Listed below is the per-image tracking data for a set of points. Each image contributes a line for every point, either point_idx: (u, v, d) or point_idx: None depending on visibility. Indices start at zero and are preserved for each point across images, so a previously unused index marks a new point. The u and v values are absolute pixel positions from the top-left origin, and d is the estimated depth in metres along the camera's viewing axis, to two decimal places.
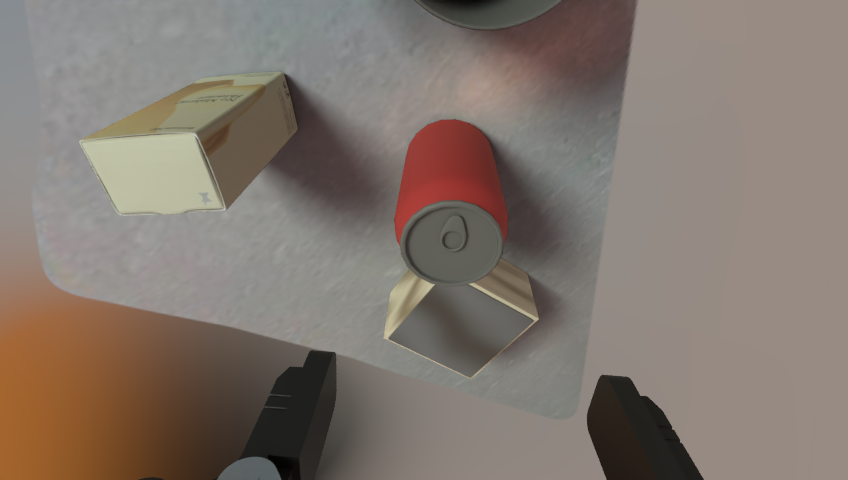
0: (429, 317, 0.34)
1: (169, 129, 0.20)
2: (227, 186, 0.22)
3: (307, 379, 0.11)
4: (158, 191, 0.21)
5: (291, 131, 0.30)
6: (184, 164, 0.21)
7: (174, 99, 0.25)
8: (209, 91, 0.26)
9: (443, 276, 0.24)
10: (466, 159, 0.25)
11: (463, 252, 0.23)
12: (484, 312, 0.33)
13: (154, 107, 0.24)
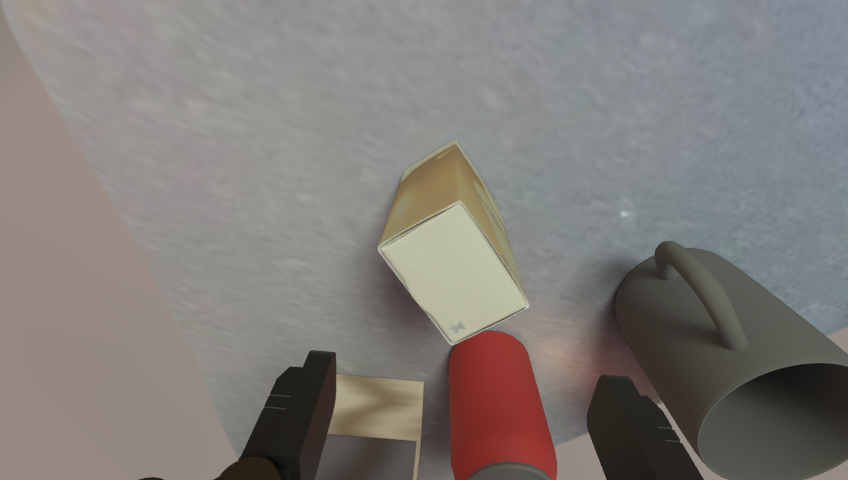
0: (357, 451, 0.32)
1: (513, 274, 0.19)
2: None
3: (307, 379, 0.11)
4: (440, 285, 0.19)
5: None
6: (489, 304, 0.19)
7: (470, 179, 0.23)
8: (484, 195, 0.25)
9: None
10: None
11: None
12: None
13: (467, 181, 0.22)
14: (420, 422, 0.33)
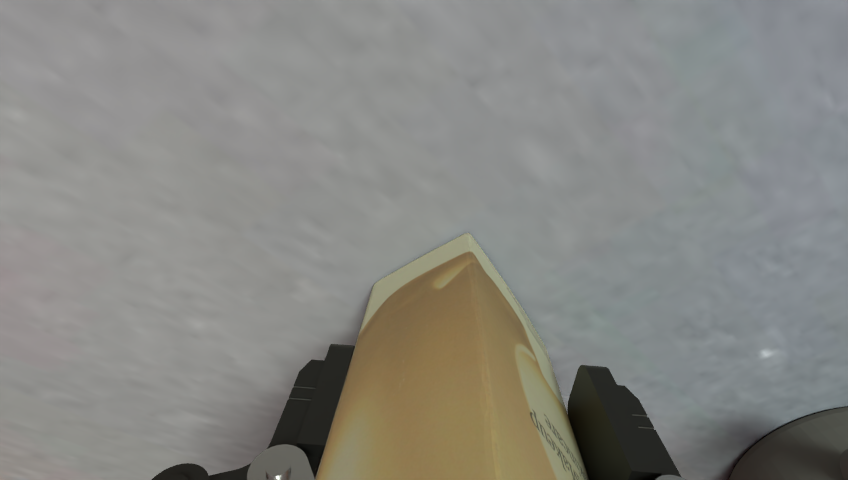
0: None
1: None
2: None
3: (330, 371, 0.12)
4: None
5: None
6: None
7: (511, 369, 0.10)
8: (534, 378, 0.12)
9: None
10: None
11: None
12: None
13: (510, 403, 0.09)
14: None
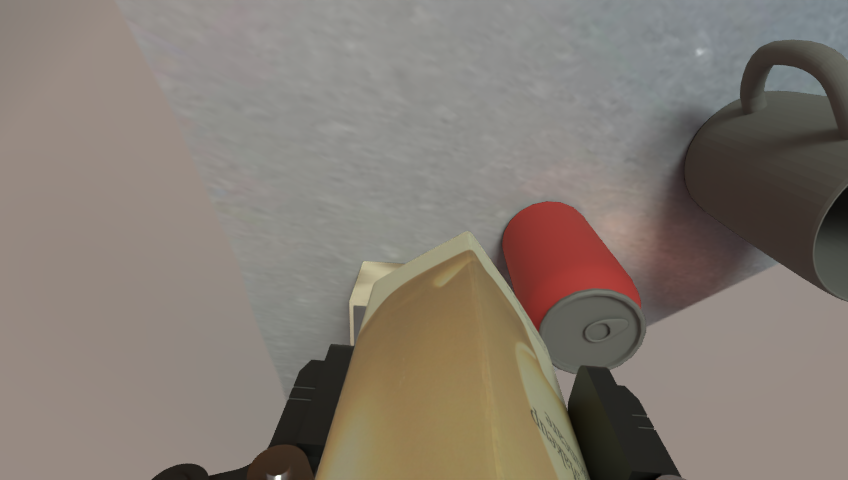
0: None
1: None
2: None
3: (330, 371, 0.12)
4: None
5: None
6: None
7: (511, 366, 0.10)
8: (535, 376, 0.12)
9: (548, 342, 0.23)
10: None
11: (586, 343, 0.23)
12: None
13: (510, 401, 0.09)
14: None
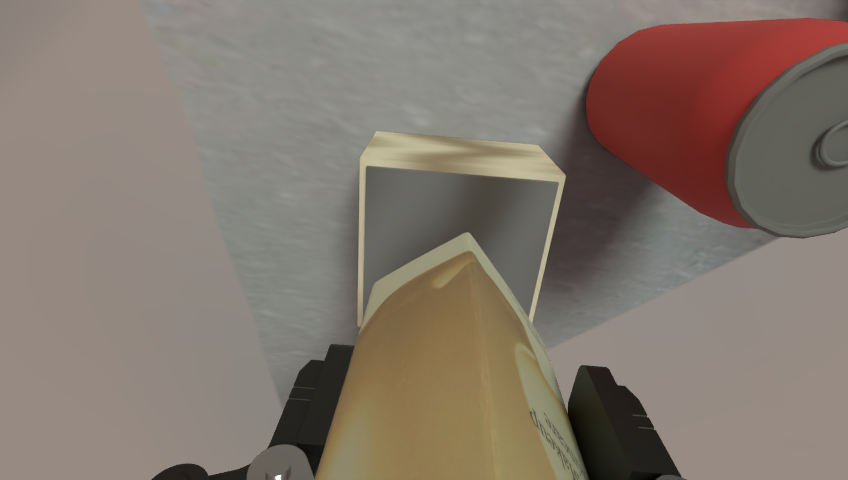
0: (454, 205, 0.19)
1: None
2: None
3: (329, 371, 0.12)
4: None
5: None
6: None
7: (510, 368, 0.10)
8: (534, 377, 0.12)
9: (742, 170, 0.12)
10: None
11: (811, 173, 0.12)
12: (507, 273, 0.21)
13: (509, 402, 0.09)
14: (555, 166, 0.20)
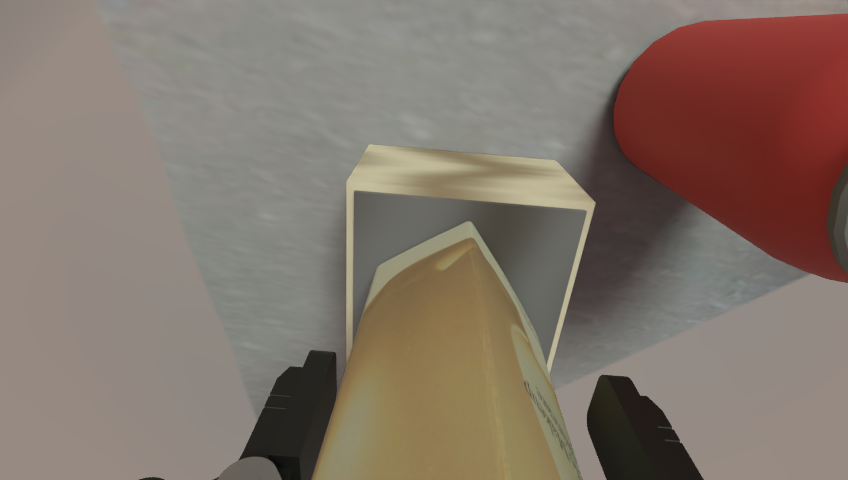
0: None
1: None
2: None
3: (307, 379, 0.11)
4: None
5: None
6: None
7: (507, 342, 0.11)
8: (527, 355, 0.12)
9: None
10: None
11: None
12: None
13: (507, 370, 0.09)
14: (580, 189, 0.17)
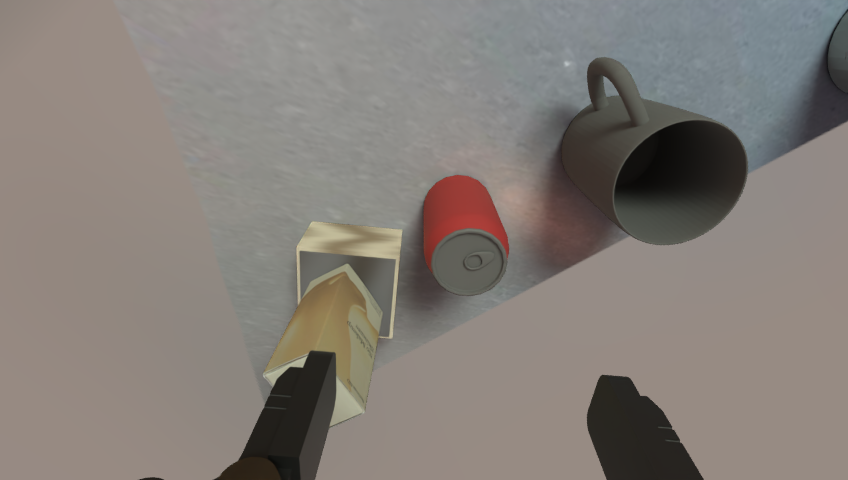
0: None
1: (355, 391, 0.29)
2: None
3: (307, 379, 0.11)
4: None
5: None
6: (337, 410, 0.29)
7: (344, 309, 0.33)
8: (358, 315, 0.35)
9: (439, 270, 0.32)
10: None
11: (466, 271, 0.32)
12: None
13: (338, 315, 0.32)
14: (399, 249, 0.39)
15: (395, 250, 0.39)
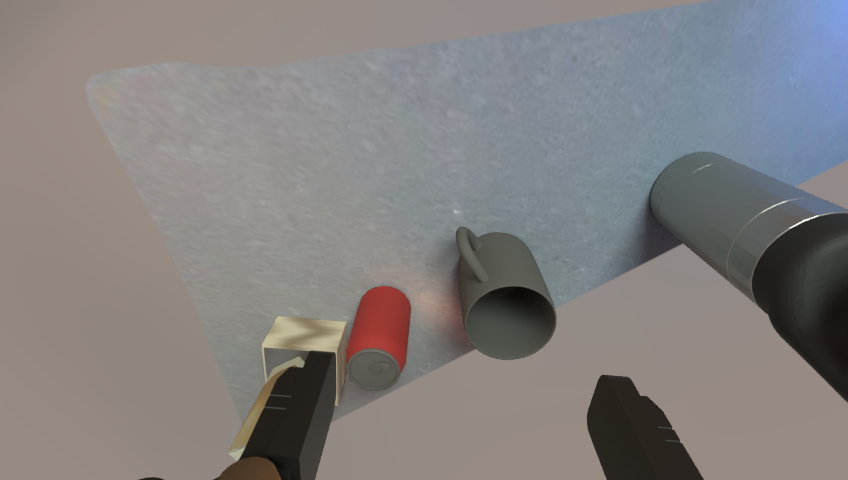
0: None
1: None
2: None
3: (307, 379, 0.11)
4: None
5: None
6: None
7: None
8: None
9: (353, 374, 0.45)
10: (406, 338, 0.48)
11: (373, 374, 0.45)
12: None
13: None
14: (338, 343, 0.53)
15: (335, 345, 0.52)
